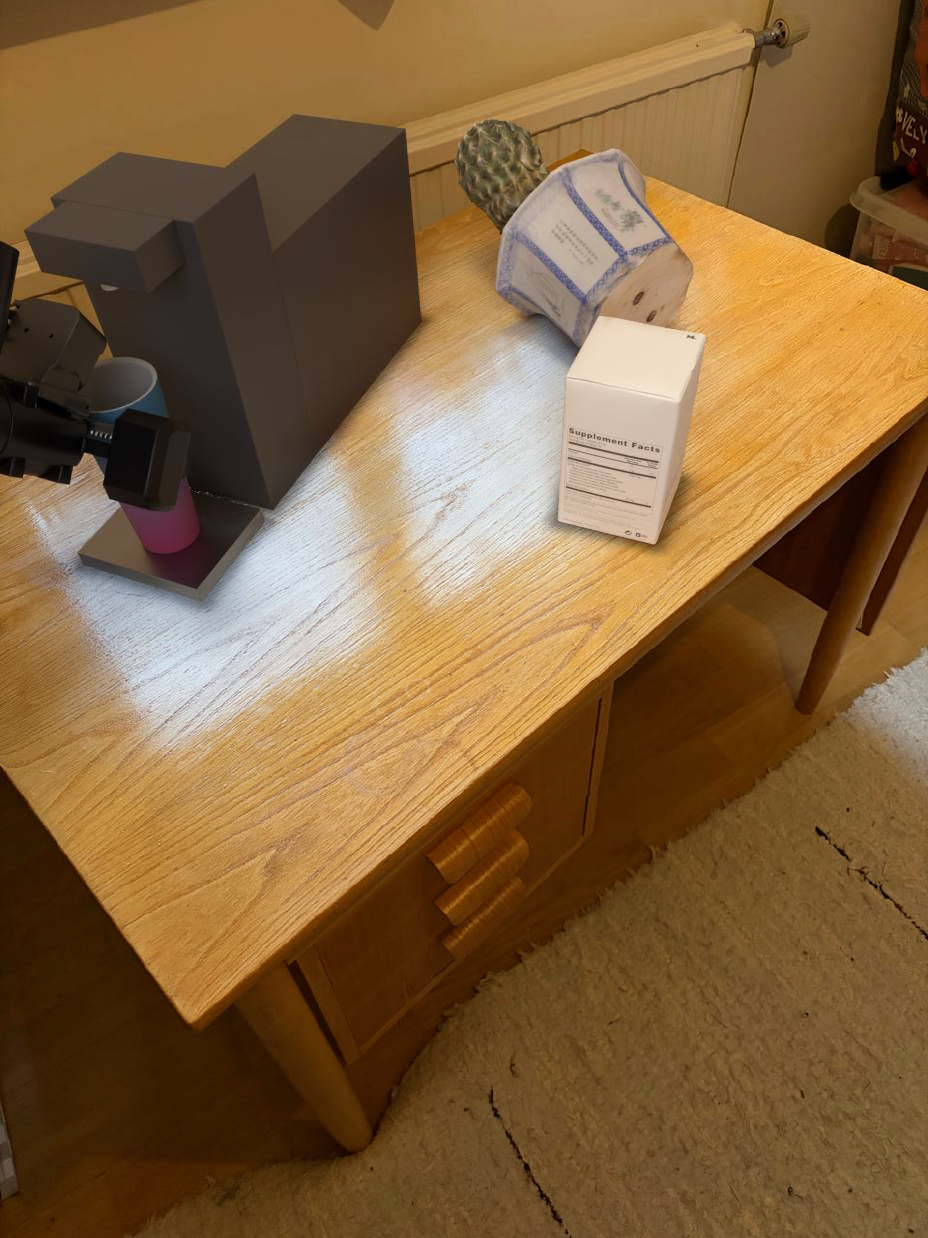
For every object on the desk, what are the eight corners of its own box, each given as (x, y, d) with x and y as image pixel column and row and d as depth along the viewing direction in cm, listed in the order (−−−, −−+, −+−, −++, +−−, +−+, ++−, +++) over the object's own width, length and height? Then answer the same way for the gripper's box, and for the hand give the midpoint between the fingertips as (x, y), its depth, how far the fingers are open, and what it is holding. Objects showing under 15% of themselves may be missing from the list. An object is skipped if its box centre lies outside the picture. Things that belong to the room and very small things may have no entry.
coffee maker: (246, 544, 75) (153, 254, 56) (132, 511, 79) (5, 226, 59) (421, 321, 97) (399, 54, 77) (326, 302, 100) (281, 42, 80)
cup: (209, 555, 73) (153, 406, 61) (126, 567, 72) (53, 418, 61) (212, 501, 77) (160, 351, 65) (133, 511, 76) (67, 362, 65)
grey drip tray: (202, 601, 71) (196, 589, 70) (83, 564, 75) (76, 552, 73) (264, 521, 77) (261, 509, 76) (152, 490, 80) (147, 477, 79)
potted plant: (743, 207, 81) (553, 35, 91) (589, 276, 76) (406, 86, 86) (689, 345, 97) (532, 185, 107) (558, 410, 91) (406, 235, 102)
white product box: (585, 458, 81) (598, 310, 70) (681, 480, 79) (710, 331, 67) (553, 522, 76) (561, 374, 64) (655, 548, 73) (682, 398, 62)
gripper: (125, 314, 50) (265, 374, 65) (-118, 262, 55) (63, 329, 70) (88, 505, 51) (233, 520, 66) (-146, 437, 56) (38, 466, 71)
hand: (140, 453), depth 68 cm, fingers open, 9 cm apart
